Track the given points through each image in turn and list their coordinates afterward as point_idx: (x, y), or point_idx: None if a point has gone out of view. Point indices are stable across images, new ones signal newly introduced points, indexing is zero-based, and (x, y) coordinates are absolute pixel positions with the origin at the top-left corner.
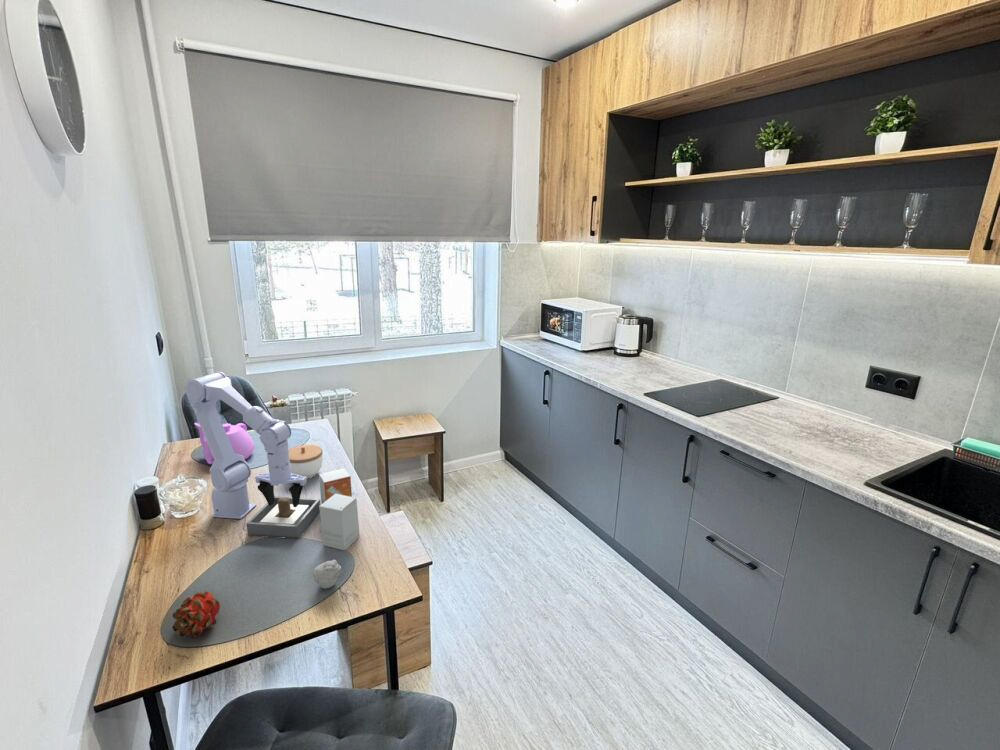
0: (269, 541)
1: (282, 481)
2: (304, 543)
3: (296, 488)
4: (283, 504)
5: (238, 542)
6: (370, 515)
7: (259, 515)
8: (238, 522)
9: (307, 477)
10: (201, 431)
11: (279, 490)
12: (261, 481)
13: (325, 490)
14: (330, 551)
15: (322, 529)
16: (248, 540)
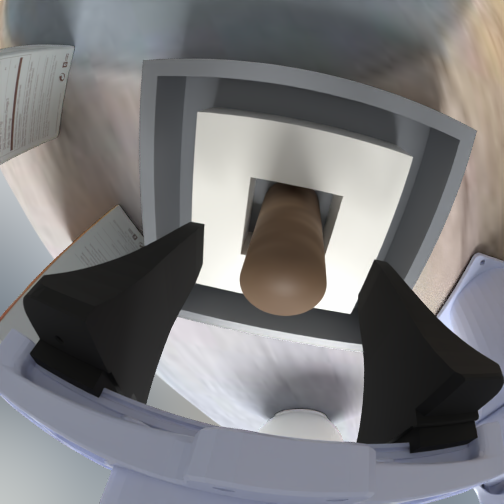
0: (320, 45)
1: (130, 468)
2: (142, 38)
3: (27, 305)
4: (272, 240)
5: (461, 74)
6: (33, 226)
7: (425, 219)
8: (483, 232)
9: (288, 414)
10: None
11: (361, 382)
12: (463, 442)
13: (20, 295)
14: (52, 27)
15: (16, 50)
16: (427, 76)
